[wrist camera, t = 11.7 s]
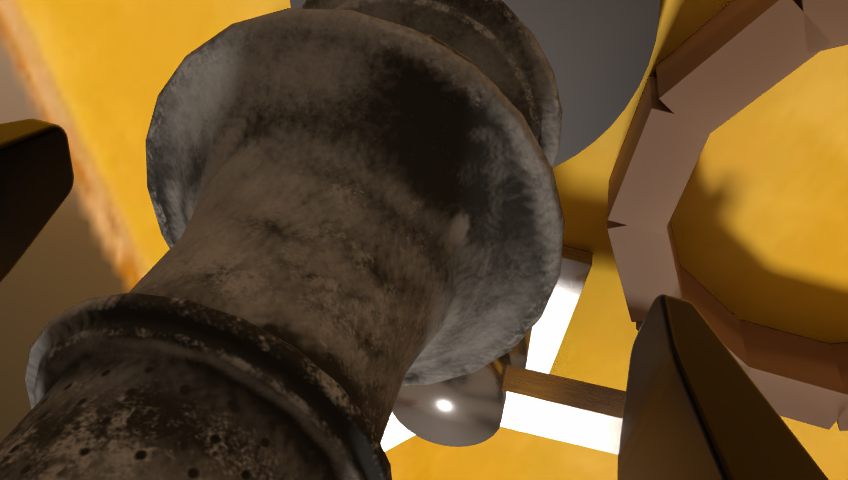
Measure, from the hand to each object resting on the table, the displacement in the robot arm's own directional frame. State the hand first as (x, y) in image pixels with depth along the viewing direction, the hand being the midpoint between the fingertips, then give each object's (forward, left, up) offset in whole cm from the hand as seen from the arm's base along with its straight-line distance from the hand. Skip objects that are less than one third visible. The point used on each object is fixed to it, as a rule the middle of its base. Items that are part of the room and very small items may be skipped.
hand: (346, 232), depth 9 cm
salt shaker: (0, 0, -4) cm, 4 cm away
